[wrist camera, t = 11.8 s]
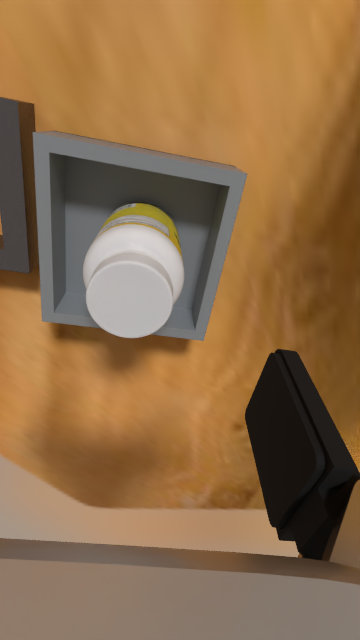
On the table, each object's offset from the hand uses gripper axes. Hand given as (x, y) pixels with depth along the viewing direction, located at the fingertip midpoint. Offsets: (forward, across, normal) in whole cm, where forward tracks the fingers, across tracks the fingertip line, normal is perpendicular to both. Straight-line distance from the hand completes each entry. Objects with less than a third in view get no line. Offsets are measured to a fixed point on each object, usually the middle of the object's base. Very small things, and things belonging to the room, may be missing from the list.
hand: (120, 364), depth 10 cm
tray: (+16, +1, +1) cm, 16 cm away
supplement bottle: (+15, 0, +1) cm, 15 cm away
